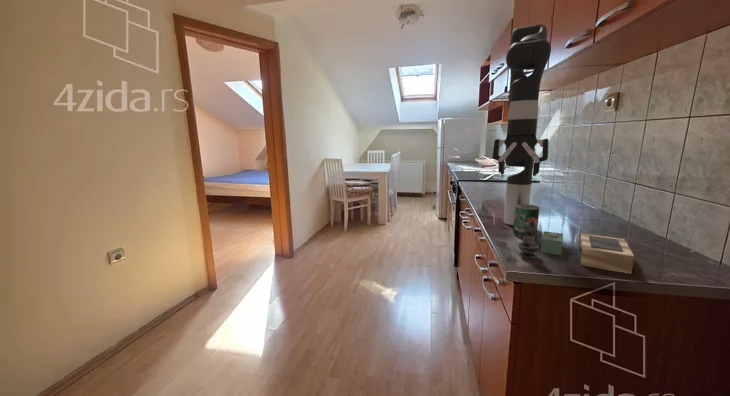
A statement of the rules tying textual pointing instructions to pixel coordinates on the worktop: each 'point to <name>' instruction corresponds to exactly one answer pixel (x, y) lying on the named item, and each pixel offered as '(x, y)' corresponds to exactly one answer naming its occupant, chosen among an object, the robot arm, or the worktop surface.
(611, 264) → the stand
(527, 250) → the grey chess piece
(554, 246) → the housing
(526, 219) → the canned tomato
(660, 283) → the worktop surface
